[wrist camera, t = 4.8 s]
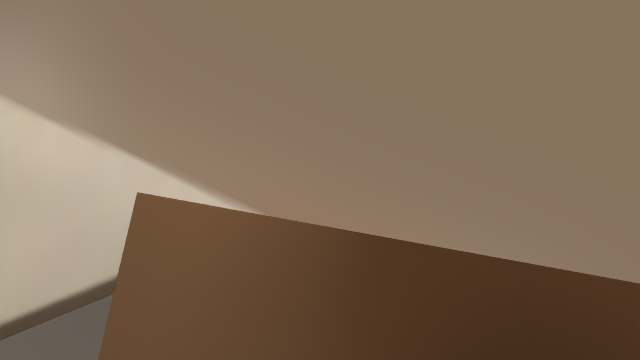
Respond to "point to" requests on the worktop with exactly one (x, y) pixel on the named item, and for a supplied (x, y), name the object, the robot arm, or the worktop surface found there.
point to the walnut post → (345, 296)
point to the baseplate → (62, 336)
